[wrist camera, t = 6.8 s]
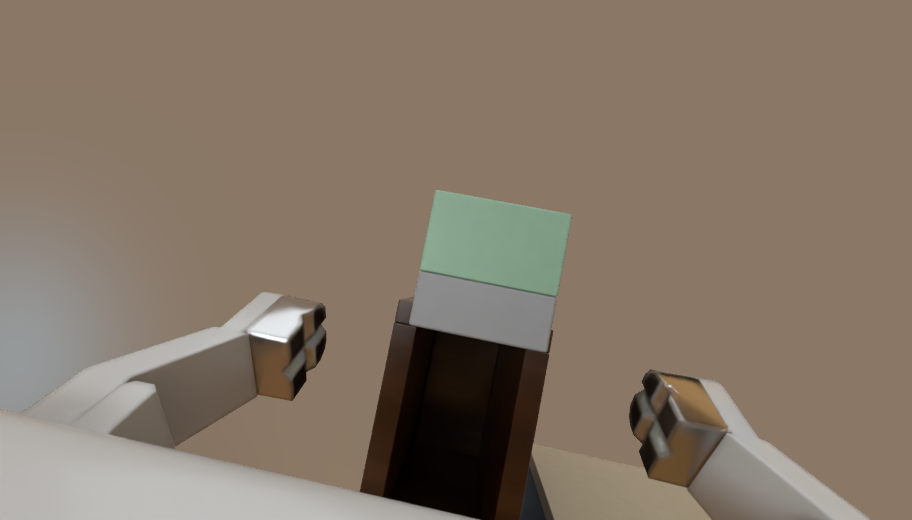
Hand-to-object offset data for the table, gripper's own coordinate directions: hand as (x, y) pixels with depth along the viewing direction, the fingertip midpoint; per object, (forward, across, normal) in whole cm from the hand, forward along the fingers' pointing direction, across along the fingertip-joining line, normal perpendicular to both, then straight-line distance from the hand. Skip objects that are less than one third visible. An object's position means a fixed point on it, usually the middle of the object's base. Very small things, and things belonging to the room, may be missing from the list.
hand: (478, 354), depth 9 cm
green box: (+10, 0, +6) cm, 12 cm away
